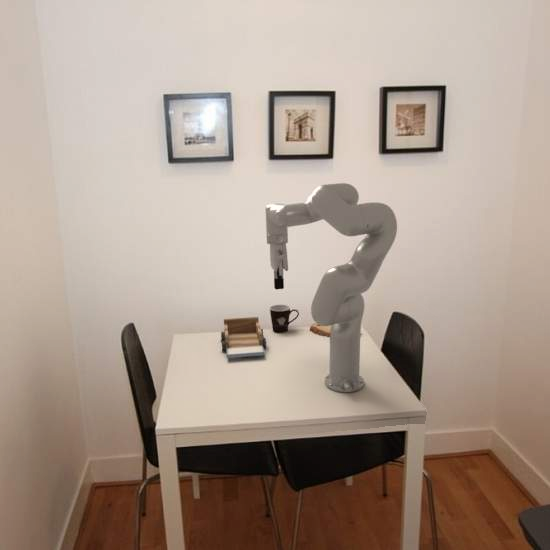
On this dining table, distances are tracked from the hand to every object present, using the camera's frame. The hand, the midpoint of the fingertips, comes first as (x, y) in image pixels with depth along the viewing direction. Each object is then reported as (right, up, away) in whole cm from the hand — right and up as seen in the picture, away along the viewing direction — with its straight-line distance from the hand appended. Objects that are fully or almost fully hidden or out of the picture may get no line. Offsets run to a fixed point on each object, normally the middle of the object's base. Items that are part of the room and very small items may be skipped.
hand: (279, 288), depth 172 cm
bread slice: (+23, -19, +25) cm, 39 cm away
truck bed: (-14, -22, +14) cm, 30 cm away
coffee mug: (+2, -19, +27) cm, 33 cm away
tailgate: (-13, -23, +5) cm, 27 cm away
